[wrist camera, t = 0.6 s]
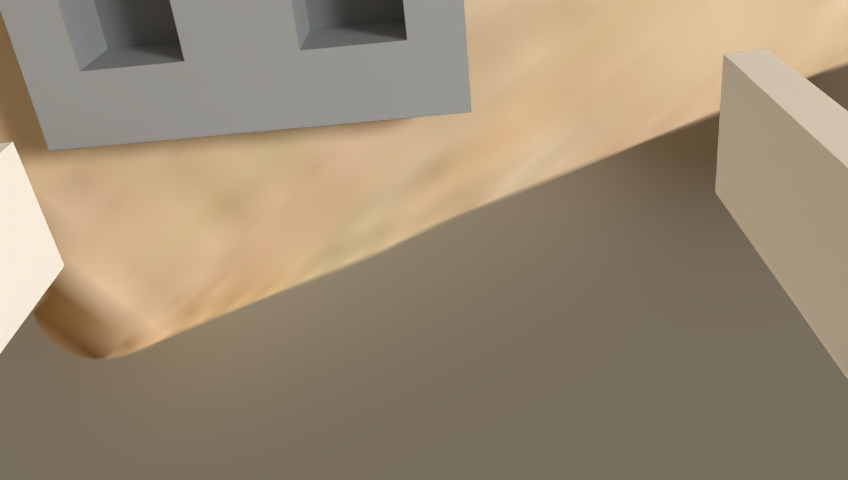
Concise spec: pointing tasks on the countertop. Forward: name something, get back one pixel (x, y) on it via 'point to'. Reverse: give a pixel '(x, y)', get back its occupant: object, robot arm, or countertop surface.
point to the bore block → (233, 65)
